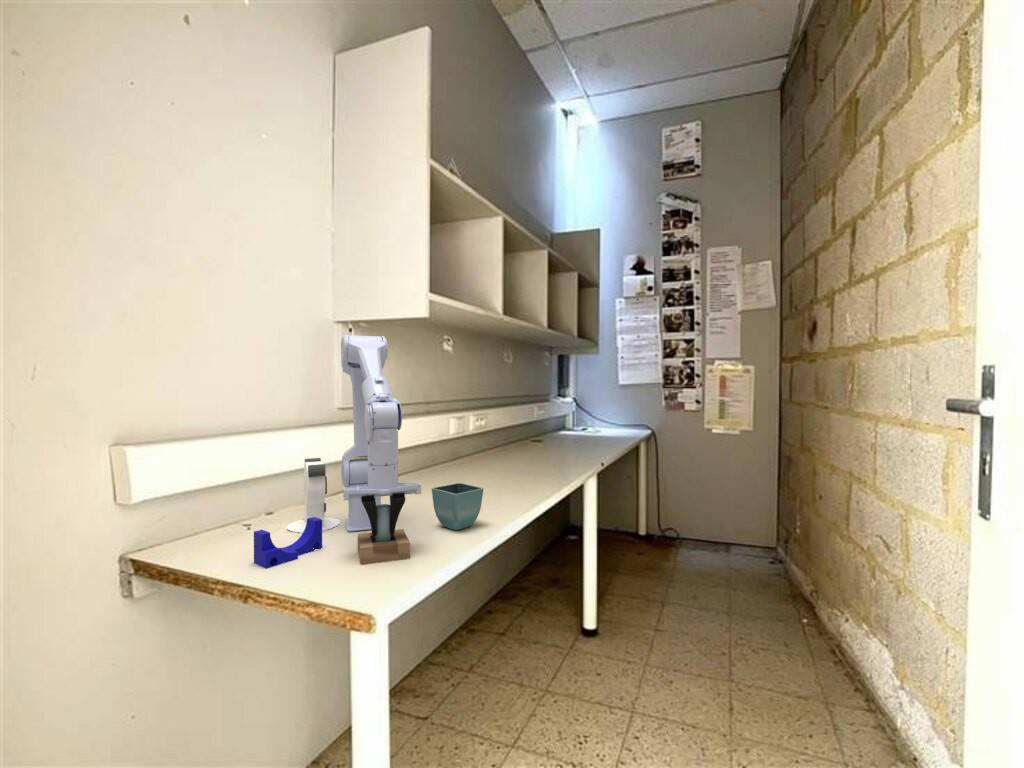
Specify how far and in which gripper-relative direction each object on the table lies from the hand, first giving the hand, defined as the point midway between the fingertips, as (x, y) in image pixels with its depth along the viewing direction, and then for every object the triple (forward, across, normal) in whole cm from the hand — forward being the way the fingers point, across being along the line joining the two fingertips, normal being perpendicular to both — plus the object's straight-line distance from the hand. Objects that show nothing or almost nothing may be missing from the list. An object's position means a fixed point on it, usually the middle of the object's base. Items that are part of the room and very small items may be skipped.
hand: (383, 533), depth 95 cm
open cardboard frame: (+4, 0, 0) cm, 4 cm away
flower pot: (+4, +18, +12) cm, 22 cm away
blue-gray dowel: (+3, 0, 0) cm, 3 cm away
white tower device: (+4, -13, +24) cm, 28 cm away
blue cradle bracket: (+4, -17, +5) cm, 18 cm away
